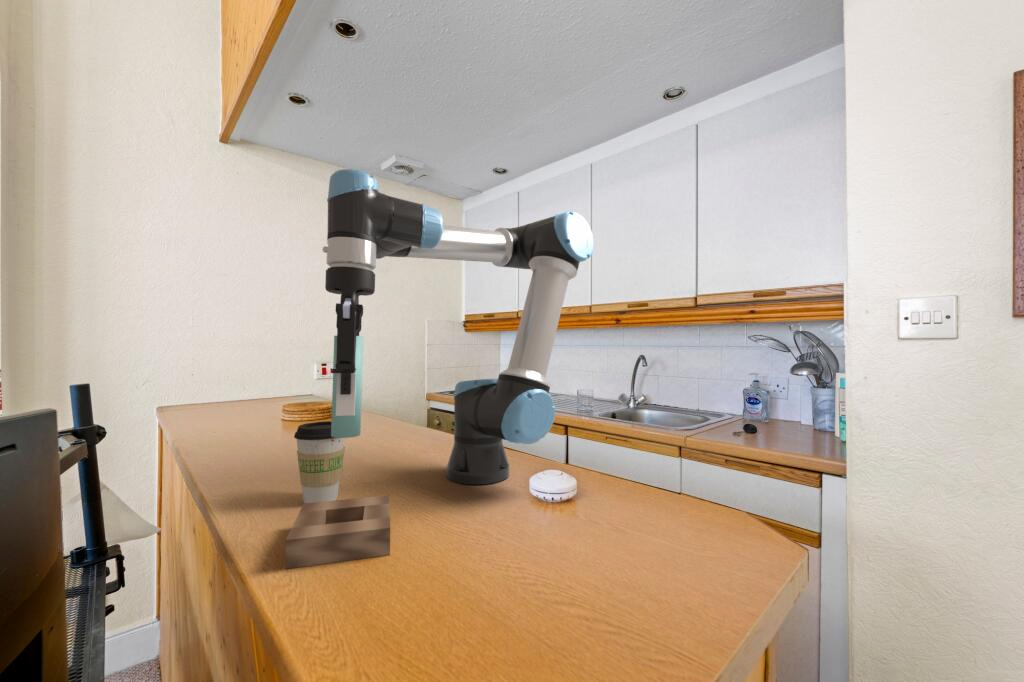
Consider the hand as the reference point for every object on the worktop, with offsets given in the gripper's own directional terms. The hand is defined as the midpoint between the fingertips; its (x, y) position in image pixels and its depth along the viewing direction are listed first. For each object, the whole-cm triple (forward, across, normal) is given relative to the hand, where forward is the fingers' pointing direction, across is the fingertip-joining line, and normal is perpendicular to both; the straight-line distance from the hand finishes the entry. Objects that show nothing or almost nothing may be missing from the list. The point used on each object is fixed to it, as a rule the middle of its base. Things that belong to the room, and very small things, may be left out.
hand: (346, 412), depth 67 cm
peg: (+4, 0, 0) cm, 4 cm away
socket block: (+20, 0, 0) cm, 20 cm away
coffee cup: (+20, -20, -6) cm, 29 cm away
